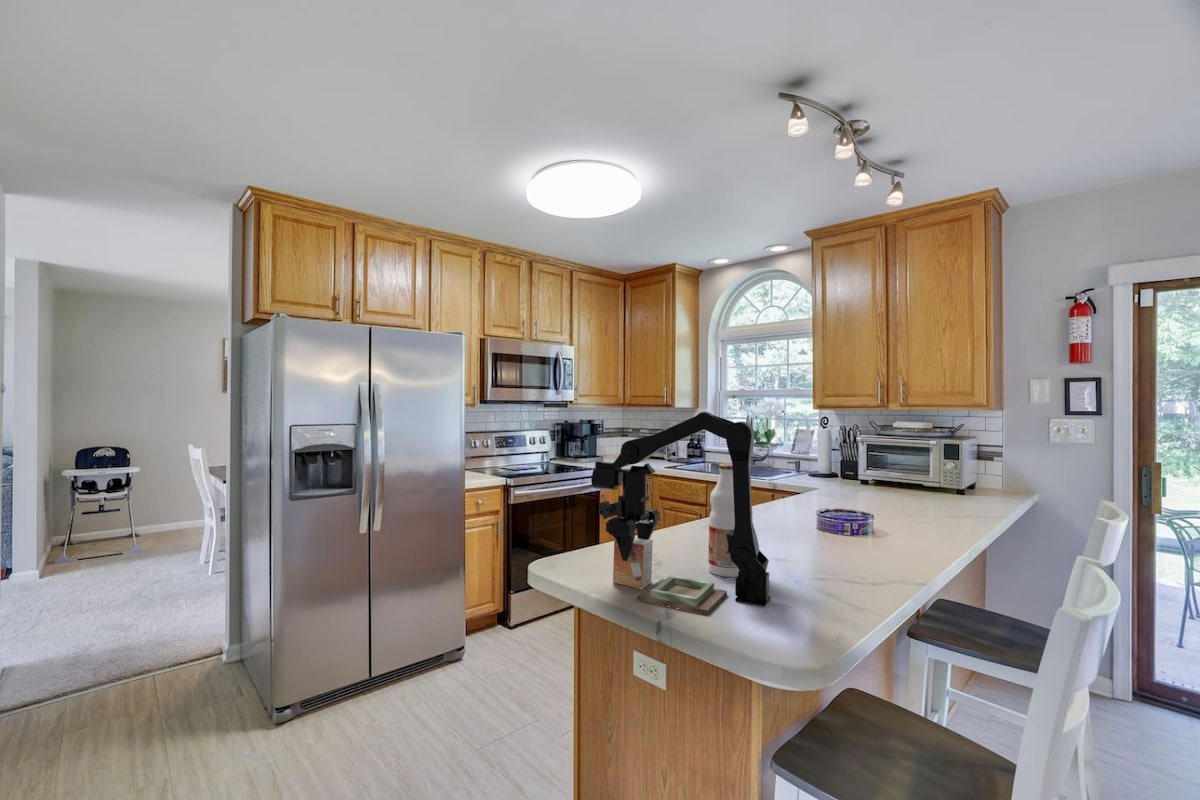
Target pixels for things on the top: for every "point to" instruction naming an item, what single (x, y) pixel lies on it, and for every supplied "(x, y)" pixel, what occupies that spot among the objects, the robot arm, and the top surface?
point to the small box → (634, 564)
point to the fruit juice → (722, 524)
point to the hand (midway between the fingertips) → (633, 556)
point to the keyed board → (684, 594)
